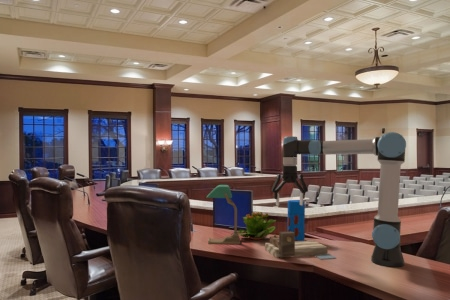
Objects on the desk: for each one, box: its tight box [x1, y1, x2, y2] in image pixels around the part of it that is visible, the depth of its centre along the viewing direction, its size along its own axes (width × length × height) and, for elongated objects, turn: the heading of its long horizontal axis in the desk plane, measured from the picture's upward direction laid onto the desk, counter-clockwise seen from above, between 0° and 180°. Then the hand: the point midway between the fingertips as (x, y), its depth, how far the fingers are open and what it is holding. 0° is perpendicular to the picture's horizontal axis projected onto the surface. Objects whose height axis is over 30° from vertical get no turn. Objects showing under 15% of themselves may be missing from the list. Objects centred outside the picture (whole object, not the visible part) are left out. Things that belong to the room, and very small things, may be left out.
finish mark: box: [313, 253, 337, 260], centre depth 188 cm, size 8×9×1 cm
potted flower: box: [237, 212, 276, 241], centre depth 232 cm, size 25×24×18 cm
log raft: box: [264, 240, 329, 259], centre depth 197 cm, size 16×30×4 cm, turn 104°
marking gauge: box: [269, 231, 295, 256], centre depth 192 cm, size 21×7×12 cm, turn 14°
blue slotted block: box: [287, 199, 306, 241], centre depth 227 cm, size 11×11×25 cm
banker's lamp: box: [206, 184, 241, 245], centre depth 219 cm, size 16×21×35 cm
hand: (289, 205), depth 189 cm, fingers open, 13 cm apart
